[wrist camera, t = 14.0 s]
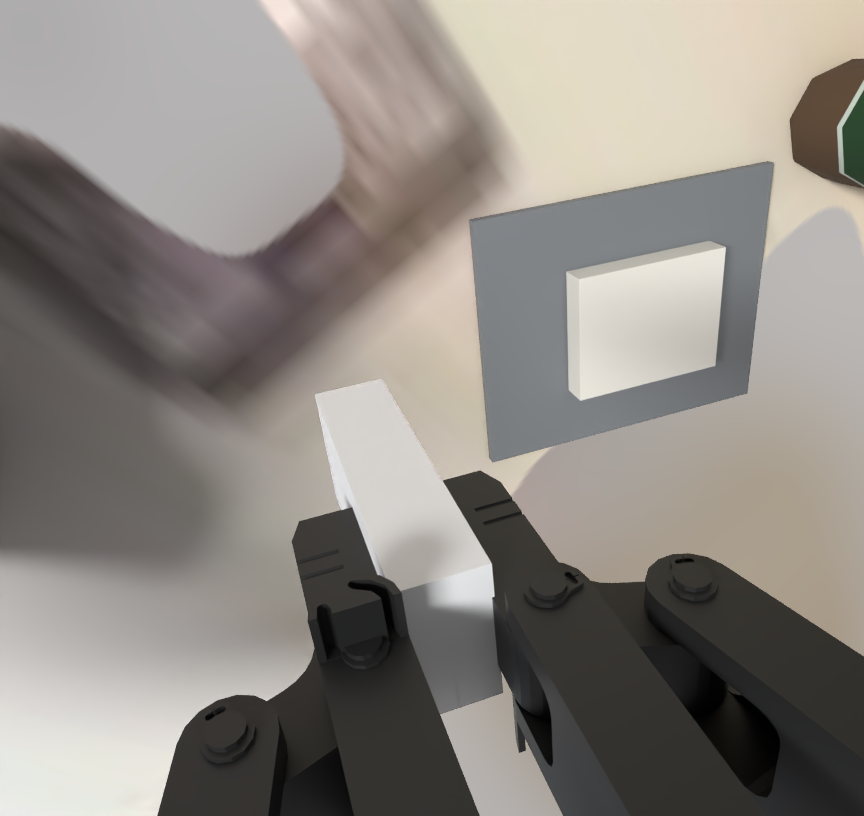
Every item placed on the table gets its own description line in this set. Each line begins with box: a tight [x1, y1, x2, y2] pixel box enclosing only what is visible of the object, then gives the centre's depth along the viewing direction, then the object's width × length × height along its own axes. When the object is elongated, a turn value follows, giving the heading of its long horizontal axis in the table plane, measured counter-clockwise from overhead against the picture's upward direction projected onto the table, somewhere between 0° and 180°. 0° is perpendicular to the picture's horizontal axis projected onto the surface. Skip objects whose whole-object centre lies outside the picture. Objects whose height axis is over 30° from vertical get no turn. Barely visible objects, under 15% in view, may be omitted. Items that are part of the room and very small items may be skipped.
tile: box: [566, 241, 726, 401], centre depth 51 cm, size 2×9×11 cm
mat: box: [469, 161, 774, 462], centre depth 52 cm, size 22×18×1 cm
